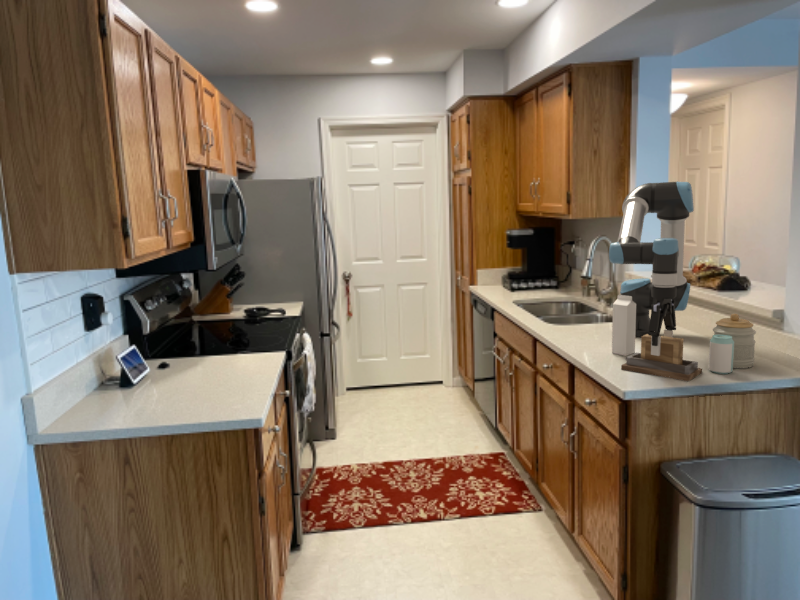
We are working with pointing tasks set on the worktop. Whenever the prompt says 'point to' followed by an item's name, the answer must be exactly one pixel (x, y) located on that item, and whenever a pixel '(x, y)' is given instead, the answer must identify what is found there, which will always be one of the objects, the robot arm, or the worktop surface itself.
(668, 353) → the tan wooden block
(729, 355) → the can
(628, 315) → the milk
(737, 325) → the jar
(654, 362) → the wooden tray
